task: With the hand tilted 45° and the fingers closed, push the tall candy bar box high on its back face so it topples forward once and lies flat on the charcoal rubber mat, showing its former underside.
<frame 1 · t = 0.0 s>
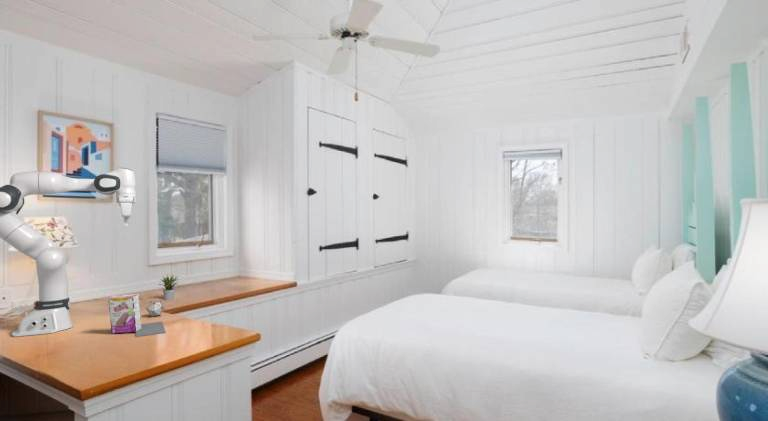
hand: (126, 226, 222), 48 cm above the worktop, tool pointing down, fingers open, 8 cm apart
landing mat: (150, 329, 200), on the worktop
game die: (155, 316, 227), on the worktop
house plant: (170, 299, 276), on the worktop
candy bar box: (126, 332, 195), on the worktop, touching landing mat
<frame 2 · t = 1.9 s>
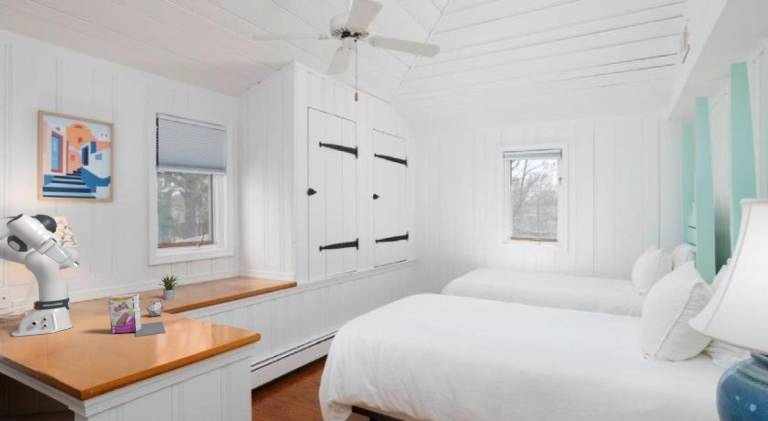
hand: (76, 266, 186), 31 cm above the worktop, tool tilted 45°, fingers open, 8 cm apart
nothing on the worktop moved.
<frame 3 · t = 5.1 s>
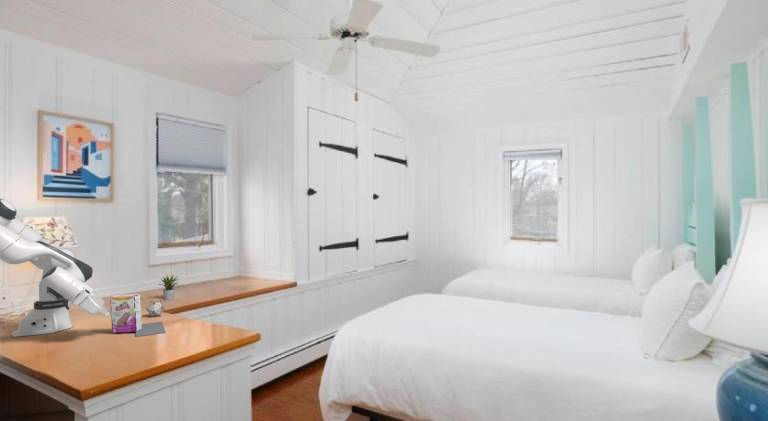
hand: (109, 314, 191), 9 cm above the worktop, tool tilted 45°, fingers closed
candy bar box: (127, 331, 195), on the worktop, touching gripper, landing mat
everything else where it was.
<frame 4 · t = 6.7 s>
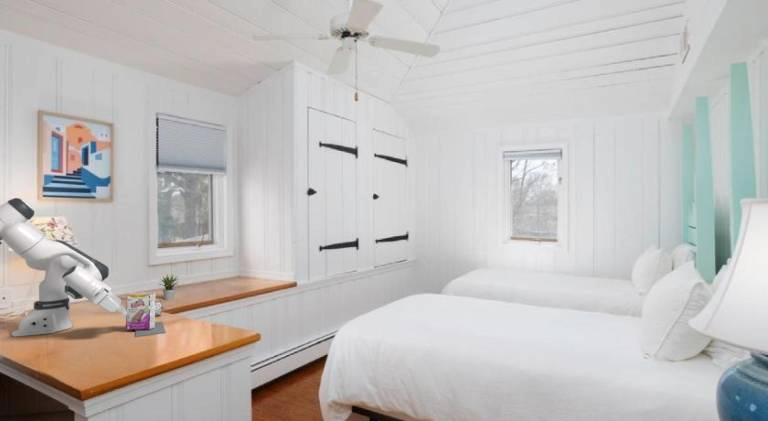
hand: (126, 313, 194), 9 cm above the worktop, tool tilted 45°, fingers closed
candy bar box: (140, 329, 197), resting on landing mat, touching gripper
everything else where it was.
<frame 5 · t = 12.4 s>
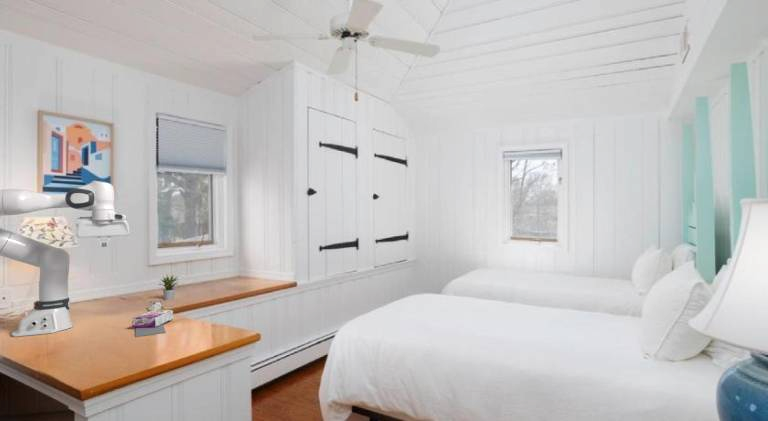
hand: (104, 246, 195), 39 cm above the worktop, tool pointing down, fingers closed
candy bar box: (143, 322, 200), point 3 cm above the worktop, touching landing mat
everything else where it was.
at the end: candy bar box tilted 91°; candy bar box inside the target area (2.0 cm from its centre), point 3.1 cm above the worktop; the gripper is holding nothing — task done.
